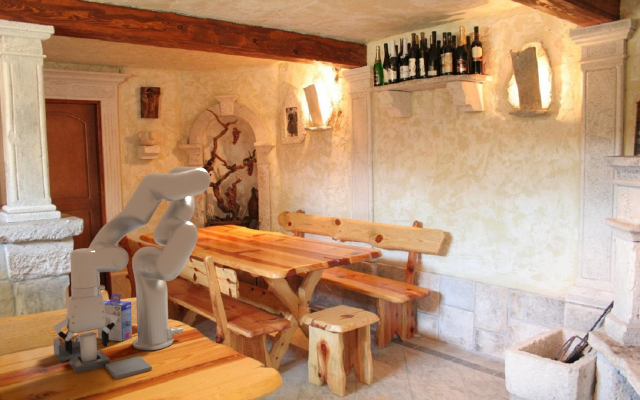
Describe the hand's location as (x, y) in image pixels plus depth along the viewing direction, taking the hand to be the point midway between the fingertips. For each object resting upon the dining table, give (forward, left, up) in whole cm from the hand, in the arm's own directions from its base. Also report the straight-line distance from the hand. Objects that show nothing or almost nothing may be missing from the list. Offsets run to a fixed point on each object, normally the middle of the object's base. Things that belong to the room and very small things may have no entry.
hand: (87, 349), depth 156 cm
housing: (+3, -11, -5) cm, 12 cm away
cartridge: (0, 0, -5) cm, 5 cm away
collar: (0, 0, -5) cm, 5 cm away
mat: (-8, +10, -5) cm, 14 cm away
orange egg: (+3, -11, -3) cm, 12 cm away
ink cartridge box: (-13, -18, -5) cm, 23 cm away
